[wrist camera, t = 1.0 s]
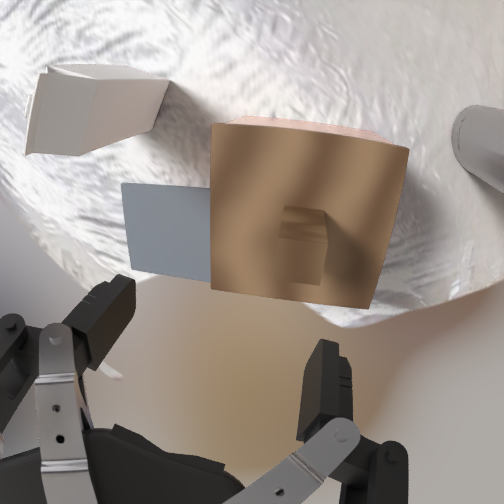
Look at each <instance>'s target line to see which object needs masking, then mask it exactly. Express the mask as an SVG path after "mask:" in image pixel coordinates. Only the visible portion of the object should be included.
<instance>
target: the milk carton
mask: <svg viewBox="0 0 504 504" xmlns="http://www.w3.org/2000/svg"><path fill="white" fill-rule="evenodd" d="M169 82H170V80H169V79H166V78H163V77H160V76H157V75H154V74H151V73H148V72H145V71H142V70H138V69H135V68H132V67H129V66H123V65H96V64H72V65H47V67H46V70H45V73H39V74H38V77H37V81H36V85H35V89H34V93H33V95H31V94H30V95H29V96H28V98H27V103H26V109H25V115H24V116H25V118H28V124H27V131H26V137H25V145H24V153H23V155H24V156H26V155H28V154H31V153H43V154H57V155H68V156H81V155H83V154H86V153H88V152H91V151H93V150H96V149H99V148H101V147H104V146H107V145H109V144H112V143H115V142H118V141H121V140H123V139H126V138H129V137H132V136H135V135H138V134H141V133H145V132H148V131H151V130H152V128H153V125H154V122H155V119H156V117H157V114H158V111H159V108H160V106H161V103H162V100H163V98H164V95H165V93H166V90H167V87H168V85H169Z"/></svg>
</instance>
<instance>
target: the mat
mask: <svg viewBox="0 0 504 504" xmlns="http://www.w3.org/2000/svg"><path fill="white" fill-rule="evenodd" d="M121 191H122V201H123V211H124V219H125V227H126V235H127V242H128V249H129V256H130V262H131V268H132V270H138V271H144V272H149V273H155V274H161V275H168V276H174V277H180V278H186V279H192V280H199V281H205V282H211V268H210V188H198V187H185V186H171V185H155V184H136V183H122V184H121Z"/></svg>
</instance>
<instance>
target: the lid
mask: <svg viewBox="0 0 504 504" xmlns="http://www.w3.org/2000/svg"><path fill="white" fill-rule="evenodd" d="M409 150H410V149H408V148H406V147H403V146H398V145H393V144H389V143H384V142H379V141H374V140H368V139H363V138H357V137H351V136H345V135H339V134H332V133H325V132H318V131H310V130H302V129H293V128H283V127H273V126H261V125H247V124H229V123H213V124H212V127H211V171H210V268H211V289H214V290H220V291H226V292H233V293H240V294H247V295H254V296H261V297H268V298H269V297H270V298H276V299H283V300H291V301H299V302H307V303H315V304H323V305H332V306H341V307H350V308H359V309H369V307H370V304H371V301H372V298H373V295H374V291H375V288H376V285H377V282H378V279H379V276H380V272H381V269H382V266H383V262H384V259H385V255H386V252H387V248H388V245H389V241H390V237H391V233H392V229H393V226H394V222H395V218H396V213H397V209H398V205H399V201H400V196H401V191H402V187H403V182H404V177H405V172H406V167H407V161H408V156H409Z"/></svg>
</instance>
